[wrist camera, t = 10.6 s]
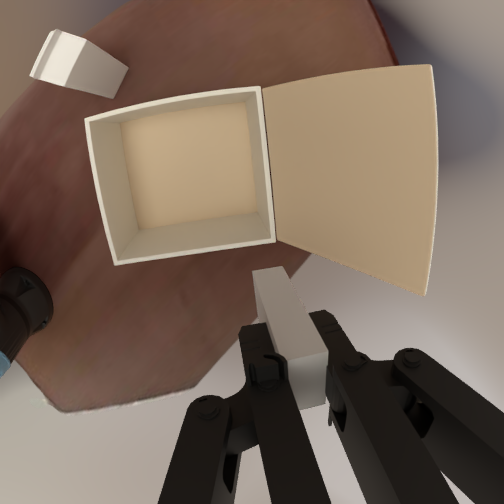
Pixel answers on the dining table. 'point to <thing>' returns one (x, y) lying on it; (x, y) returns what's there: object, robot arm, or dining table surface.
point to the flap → (358, 169)
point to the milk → (78, 65)
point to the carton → (183, 175)
